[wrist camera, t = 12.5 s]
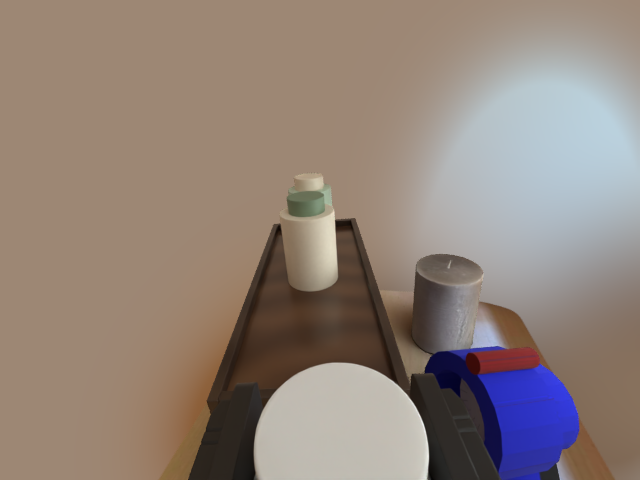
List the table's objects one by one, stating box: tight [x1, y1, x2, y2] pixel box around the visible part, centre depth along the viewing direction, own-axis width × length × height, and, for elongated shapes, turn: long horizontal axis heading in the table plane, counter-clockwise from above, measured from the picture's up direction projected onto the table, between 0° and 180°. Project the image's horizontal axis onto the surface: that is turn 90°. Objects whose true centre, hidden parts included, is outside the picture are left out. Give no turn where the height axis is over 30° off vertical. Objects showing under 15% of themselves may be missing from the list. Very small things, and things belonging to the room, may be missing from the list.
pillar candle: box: [412, 254, 483, 354], centre depth 49 cm, size 10×10×15 cm
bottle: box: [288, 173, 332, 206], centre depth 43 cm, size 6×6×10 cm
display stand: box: [207, 218, 411, 474], centre depth 40 cm, size 34×14×20 cm, turn 0°
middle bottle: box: [280, 191, 338, 292], centre depth 34 cm, size 6×6×10 cm
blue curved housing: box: [424, 346, 579, 480], centre depth 32 cm, size 12×12×15 cm
